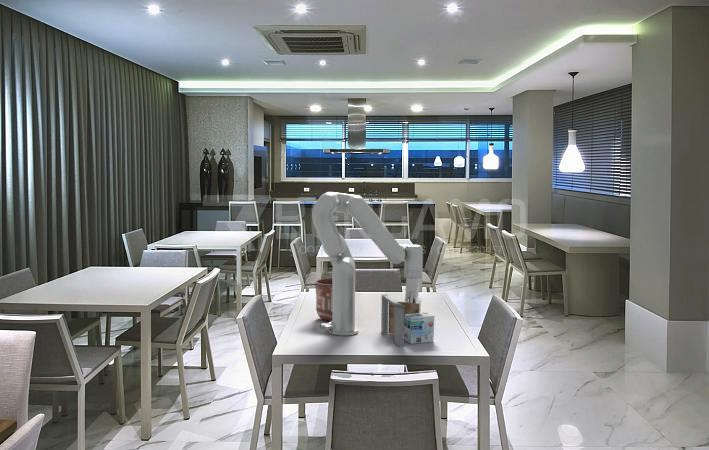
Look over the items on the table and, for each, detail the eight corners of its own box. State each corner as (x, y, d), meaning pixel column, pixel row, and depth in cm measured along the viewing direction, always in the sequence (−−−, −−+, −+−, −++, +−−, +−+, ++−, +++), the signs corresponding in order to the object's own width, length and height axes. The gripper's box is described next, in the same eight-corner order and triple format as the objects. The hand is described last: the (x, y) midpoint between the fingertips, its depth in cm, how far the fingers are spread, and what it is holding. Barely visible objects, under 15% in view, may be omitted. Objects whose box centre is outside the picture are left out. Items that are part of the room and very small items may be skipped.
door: (387, 333, 258) (388, 300, 256) (389, 332, 258) (389, 300, 257) (417, 337, 251) (418, 304, 250) (418, 337, 252) (419, 303, 250)
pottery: (329, 313, 294) (328, 276, 293) (360, 318, 285) (360, 280, 284) (307, 321, 279) (307, 282, 277) (340, 326, 270) (340, 286, 268)
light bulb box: (410, 344, 242) (411, 317, 241) (403, 339, 248) (403, 313, 247) (434, 341, 246) (435, 315, 245) (426, 337, 252) (427, 311, 251)
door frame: (398, 346, 238) (399, 306, 237) (381, 331, 261) (381, 294, 260) (403, 346, 239) (404, 306, 238) (385, 331, 262) (386, 294, 260)
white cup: (406, 322, 277) (406, 300, 277) (401, 318, 285) (402, 297, 284) (423, 322, 279) (423, 300, 278) (418, 318, 287) (418, 297, 286)
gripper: (406, 270, 265) (405, 312, 267) (402, 276, 251) (401, 320, 252) (423, 271, 264) (422, 313, 265) (420, 277, 249) (419, 321, 251)
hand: (412, 316), depth 259 cm, fingers closed
